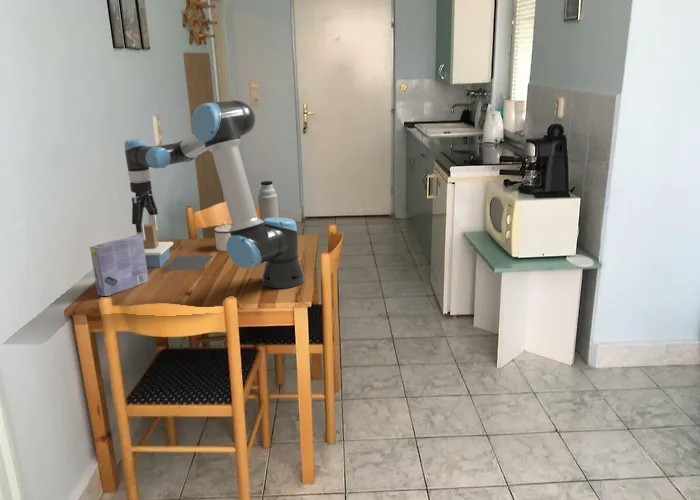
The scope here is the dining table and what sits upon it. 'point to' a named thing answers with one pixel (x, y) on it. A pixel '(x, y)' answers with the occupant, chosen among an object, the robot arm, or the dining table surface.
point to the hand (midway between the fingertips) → (147, 235)
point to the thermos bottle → (267, 201)
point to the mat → (188, 263)
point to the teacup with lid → (222, 236)
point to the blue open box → (157, 259)
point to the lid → (153, 241)
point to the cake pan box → (119, 265)
